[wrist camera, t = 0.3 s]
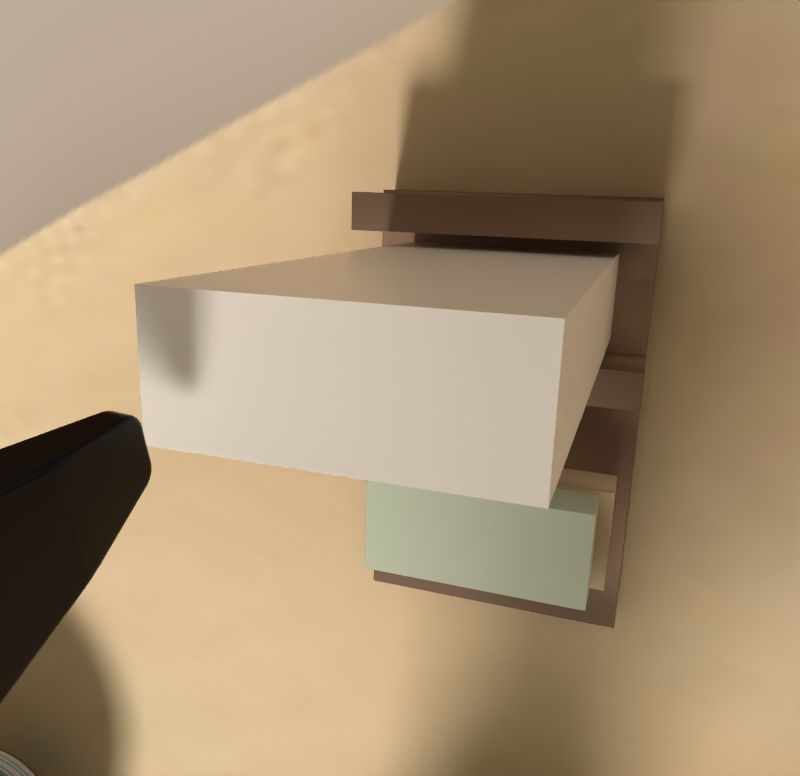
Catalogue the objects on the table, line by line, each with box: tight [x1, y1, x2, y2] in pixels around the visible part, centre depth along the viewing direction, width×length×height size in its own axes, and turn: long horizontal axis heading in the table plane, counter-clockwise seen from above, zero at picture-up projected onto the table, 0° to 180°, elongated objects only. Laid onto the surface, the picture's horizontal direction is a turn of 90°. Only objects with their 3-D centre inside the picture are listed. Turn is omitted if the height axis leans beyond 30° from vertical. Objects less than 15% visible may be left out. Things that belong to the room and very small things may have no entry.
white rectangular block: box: [135, 242, 619, 509], centre depth 16 cm, size 2×6×13 cm, turn 87°
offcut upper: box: [365, 480, 599, 611], centre depth 22 cm, size 3×6×2 cm, turn 87°
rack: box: [352, 190, 664, 628], centre depth 22 cm, size 13×8×4 cm, turn 177°
